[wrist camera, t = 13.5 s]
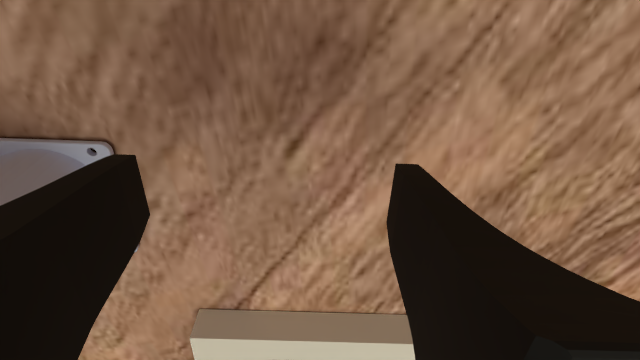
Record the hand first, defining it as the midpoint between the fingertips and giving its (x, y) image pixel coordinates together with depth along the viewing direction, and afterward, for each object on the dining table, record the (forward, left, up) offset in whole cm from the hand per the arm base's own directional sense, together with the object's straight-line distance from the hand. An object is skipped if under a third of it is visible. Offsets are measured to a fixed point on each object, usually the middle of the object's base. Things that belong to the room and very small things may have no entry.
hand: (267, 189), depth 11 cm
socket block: (+2, -24, -10) cm, 26 cm away
